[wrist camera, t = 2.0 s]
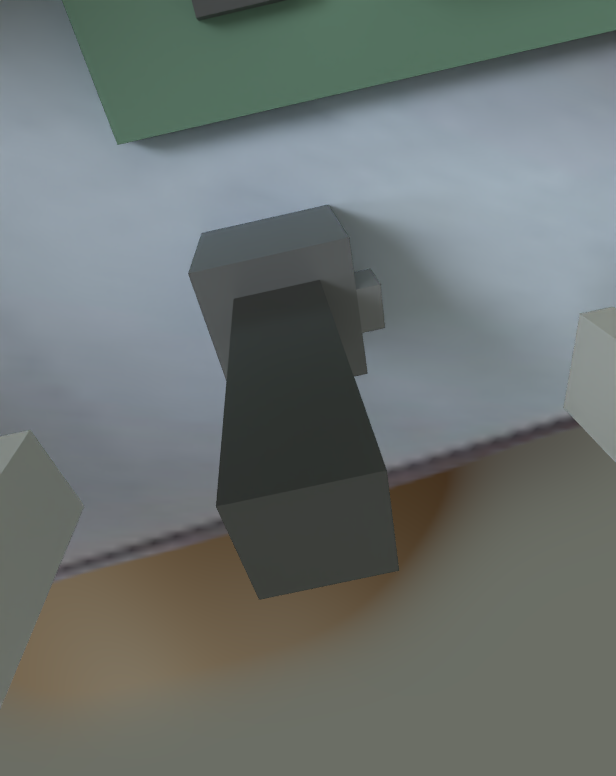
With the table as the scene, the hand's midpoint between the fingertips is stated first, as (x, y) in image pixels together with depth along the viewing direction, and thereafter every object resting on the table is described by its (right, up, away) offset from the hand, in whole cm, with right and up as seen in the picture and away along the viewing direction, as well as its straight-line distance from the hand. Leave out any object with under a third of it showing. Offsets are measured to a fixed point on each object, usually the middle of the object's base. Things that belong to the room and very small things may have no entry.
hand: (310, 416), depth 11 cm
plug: (-1, +5, +8) cm, 9 cm away
